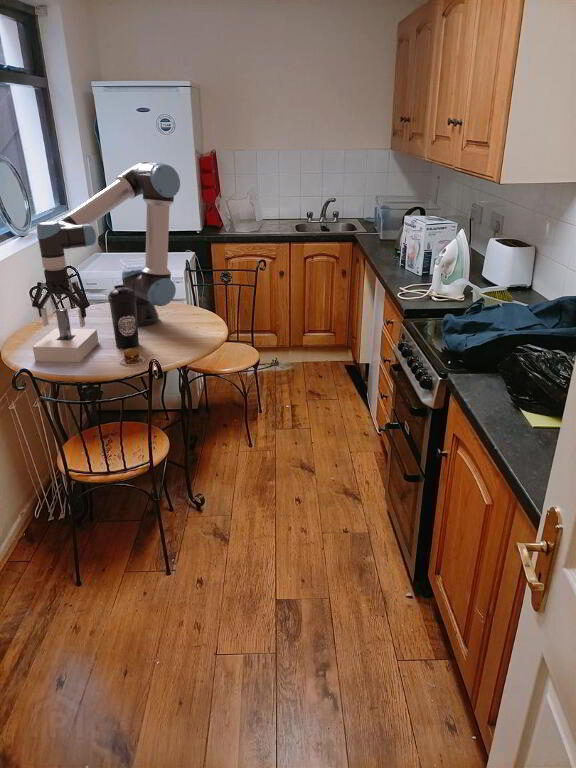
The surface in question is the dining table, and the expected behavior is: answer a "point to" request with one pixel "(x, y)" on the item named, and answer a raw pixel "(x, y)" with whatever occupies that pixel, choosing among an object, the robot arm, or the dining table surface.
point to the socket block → (66, 346)
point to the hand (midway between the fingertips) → (64, 325)
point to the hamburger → (131, 356)
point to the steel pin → (63, 324)
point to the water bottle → (124, 317)
